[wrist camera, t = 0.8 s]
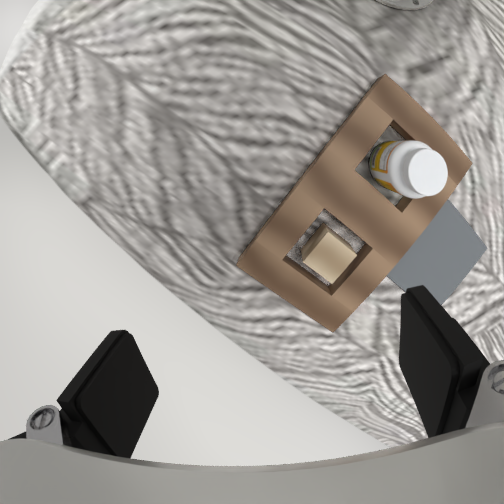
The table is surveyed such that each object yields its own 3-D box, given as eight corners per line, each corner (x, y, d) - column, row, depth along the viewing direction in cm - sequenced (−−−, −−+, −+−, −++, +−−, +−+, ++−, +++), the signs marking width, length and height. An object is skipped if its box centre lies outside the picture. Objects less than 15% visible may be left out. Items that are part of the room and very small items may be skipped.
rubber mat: (445, 197, 31) (447, 198, 31) (485, 246, 32) (487, 248, 32) (384, 273, 35) (385, 274, 34) (430, 313, 36) (431, 315, 36)
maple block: (322, 222, 34) (328, 231, 30) (349, 243, 34) (357, 255, 31) (300, 249, 35) (303, 262, 31) (327, 269, 36) (332, 283, 32)
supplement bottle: (417, 180, 31) (460, 193, 22) (377, 195, 32) (411, 213, 23) (402, 134, 30) (444, 133, 20) (361, 149, 31) (391, 151, 22)
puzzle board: (378, 78, 28) (385, 73, 25) (461, 161, 30) (472, 163, 27) (238, 257, 36) (236, 265, 34) (330, 321, 38) (333, 332, 35)
